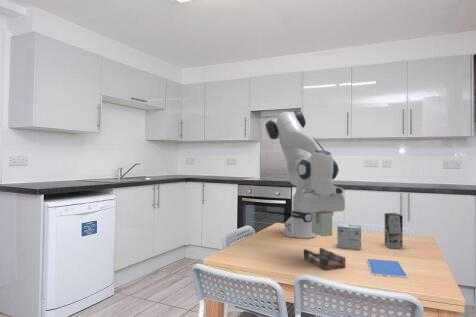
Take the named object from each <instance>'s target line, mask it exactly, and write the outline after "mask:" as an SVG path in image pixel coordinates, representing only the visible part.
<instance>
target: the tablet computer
mask: <svg viewBox="0 0 476 317" xmlns="http://www.w3.org/2000/svg"><path fill="white" fill-rule="evenodd" d="M366 263H367V265H368V266H367V267H368V268H369V269H370V270H369V272H371V273H370V275H371V274H374V275H373V276H376V275H382V276H381V277H387V276H390V278H397V277H399V278H400V279H408V278H409V276H408V274H407V272H406V271H405V269H404V268H403V266H402V265H401V263H400V262H399V261H396V260H388V259H387V260H386V259H376V258H375V259H372V258H367V259H366Z"/></svg>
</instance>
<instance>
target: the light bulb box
mask: <svg viewBox="0 0 476 317" xmlns="http://www.w3.org/2000/svg"><path fill="white" fill-rule="evenodd" d="M336 231H337V233H336V234H337V236H336V237H337V247H336V248H340V249H349V250H355V251H356V250H358V251H360V250H361V248H362V226H361V225H357V224H343V223H339V224H338V225H337V229H336Z"/></svg>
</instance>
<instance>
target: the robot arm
mask: <svg viewBox="0 0 476 317" xmlns="http://www.w3.org/2000/svg"><path fill="white" fill-rule="evenodd" d="M306 123H307V122H306V117H305V115H304V113H303V112H302V111H301V110H300V109H299V110H293V111H291V112H290V111H283V112H280V114H279V115H278V116H277V117H275V118H273V119H270V120H268V121H267V122H266V123H265V124H264V125H265V130H264V131H265V134H266V135H267V137H269V139H271V140H277V139H278V140H279V144H280V148H281V150H282V153H283V156H284V158H285V161H286V168H287V174H286V178H287V181H288V182H289V183H290V184H291V185H294V186H296V187H295V188H296V189H295V193H294V194H293V196H292V210H291V211H290V217H289V218H288V219H287V220H285V223H284V229H280V233H283V235H285V236H287V237H288V238H299V239H310V238H315V237H316V236H317V234H315V233H312V218H313V223H315V224H316V223H318V219H316V216H315V215H316V212H329V213H332V217H333V216H334V212H344V210H345V208H346V201H345V196H344V193H345V190H344V188H342V187H339V186H336V185H334V180H335V179H336V177H337V176H338V174H339V171H340V170H339V165H338V163H337V161H336V160H334V159H333V155H332V152H330V151H328V150H325V149H324V148H323V147H322V146H321V144H320V143H319V141H318V140H317V139H316V138H315V137H314V136H313V135H311V134H310V133H308V132H307V131H306V130H305V126H306V125H307V124H306ZM304 151H306V152H308V153H309V154H310V156H309V157H306V158H305V156H306V154H305V152H304Z"/></svg>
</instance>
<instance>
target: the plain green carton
mask: <svg viewBox="0 0 476 317" xmlns="http://www.w3.org/2000/svg"><path fill="white" fill-rule="evenodd" d="M315 216H316V219H318V223H316V224H315V223H313V218H312V233H315V234H317V235H318V236H320V237H331V236H332V237H333V216H332V213H329V212H316V215H315ZM317 235H316V236H317Z"/></svg>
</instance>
